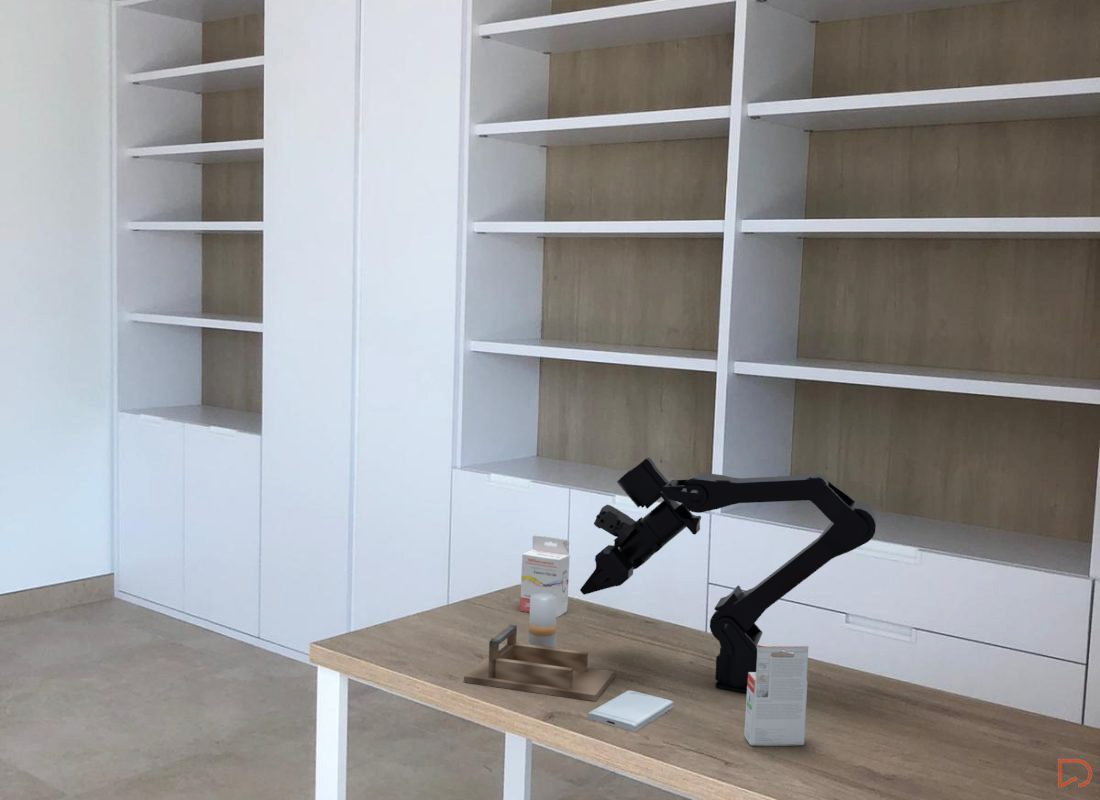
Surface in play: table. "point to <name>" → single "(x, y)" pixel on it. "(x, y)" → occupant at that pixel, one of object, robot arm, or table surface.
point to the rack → (539, 669)
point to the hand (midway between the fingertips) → (589, 585)
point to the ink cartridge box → (546, 572)
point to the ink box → (777, 698)
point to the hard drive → (630, 710)
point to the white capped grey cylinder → (542, 619)
